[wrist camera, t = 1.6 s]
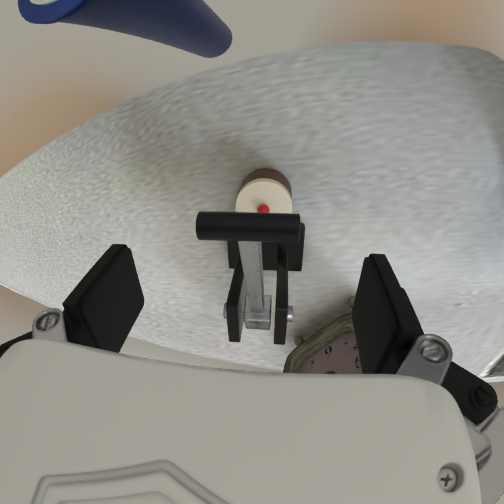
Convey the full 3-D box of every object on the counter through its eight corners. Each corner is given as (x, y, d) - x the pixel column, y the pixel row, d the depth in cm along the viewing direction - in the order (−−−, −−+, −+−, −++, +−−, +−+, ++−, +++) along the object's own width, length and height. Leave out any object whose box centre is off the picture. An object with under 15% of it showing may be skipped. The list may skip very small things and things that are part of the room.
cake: (240, 167, 31) (232, 184, 26) (292, 168, 31) (294, 185, 26) (241, 214, 34) (234, 238, 29) (290, 215, 34) (291, 239, 29)
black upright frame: (227, 221, 35) (199, 296, 23) (304, 223, 34) (314, 302, 22) (230, 263, 38) (208, 345, 26) (300, 265, 37) (306, 351, 25)
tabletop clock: (356, 283, 38) (396, 465, 17) (390, 314, 40) (431, 469, 19) (282, 337, 44) (274, 495, 23) (320, 360, 47) (325, 501, 26)
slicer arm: (200, 198, 15) (191, 237, 14) (299, 200, 14) (300, 241, 13) (233, 303, 28) (230, 327, 27) (286, 306, 27) (285, 330, 26)
